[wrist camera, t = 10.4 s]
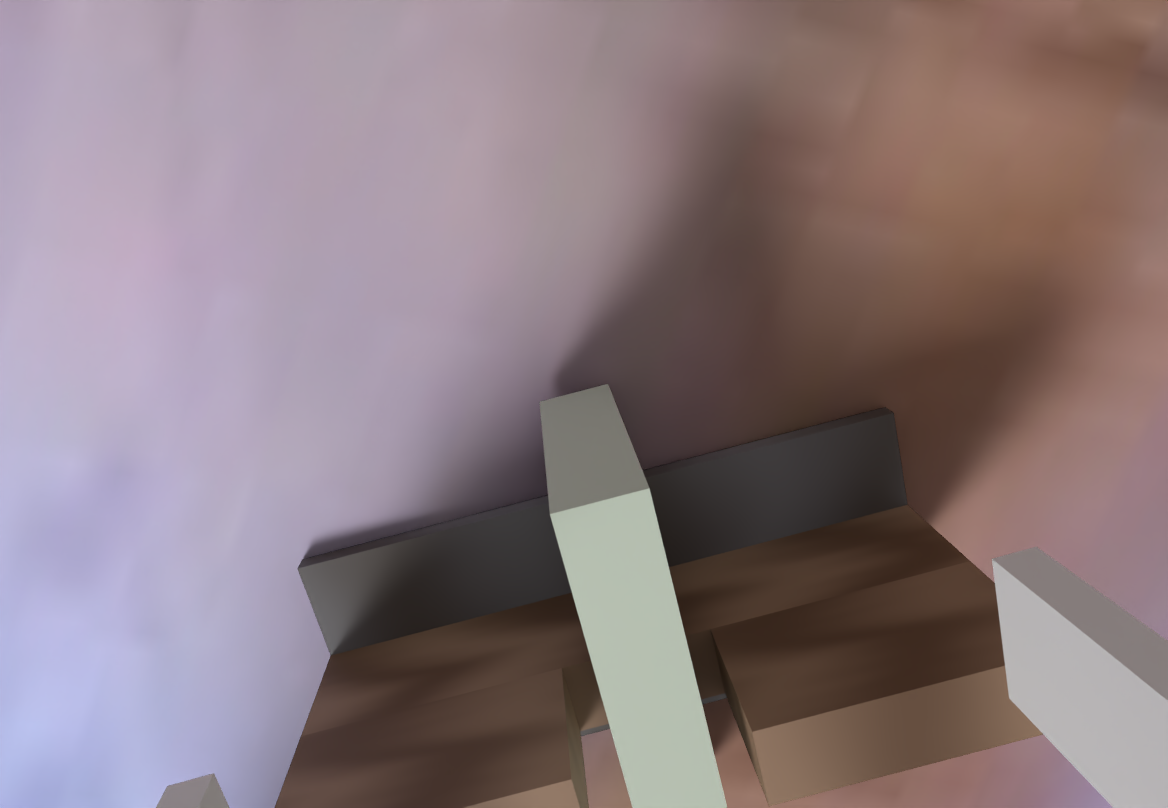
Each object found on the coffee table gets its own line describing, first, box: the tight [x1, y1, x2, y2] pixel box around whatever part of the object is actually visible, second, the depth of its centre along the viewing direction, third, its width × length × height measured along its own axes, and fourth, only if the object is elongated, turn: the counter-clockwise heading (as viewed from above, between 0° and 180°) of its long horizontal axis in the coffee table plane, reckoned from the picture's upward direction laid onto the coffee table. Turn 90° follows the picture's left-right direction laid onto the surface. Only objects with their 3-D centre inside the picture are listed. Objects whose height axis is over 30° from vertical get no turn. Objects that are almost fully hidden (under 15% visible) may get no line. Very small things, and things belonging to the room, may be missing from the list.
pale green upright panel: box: [539, 384, 727, 808], centre depth 23 cm, size 14×2×8 cm, turn 14°
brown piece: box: [275, 407, 1043, 808], centre depth 23 cm, size 18×8×9 cm, turn 104°
